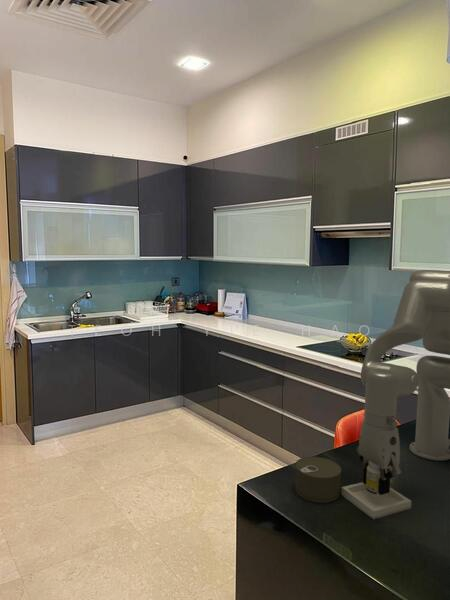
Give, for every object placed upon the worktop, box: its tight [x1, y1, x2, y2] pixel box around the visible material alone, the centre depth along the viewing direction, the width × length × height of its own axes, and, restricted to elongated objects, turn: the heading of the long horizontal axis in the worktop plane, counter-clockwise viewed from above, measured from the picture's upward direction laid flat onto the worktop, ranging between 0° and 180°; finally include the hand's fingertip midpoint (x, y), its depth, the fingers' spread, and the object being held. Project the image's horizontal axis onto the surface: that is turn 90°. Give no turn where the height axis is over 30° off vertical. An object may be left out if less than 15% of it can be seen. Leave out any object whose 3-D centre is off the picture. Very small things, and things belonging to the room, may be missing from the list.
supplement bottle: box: [366, 461, 387, 496], centre depth 113 cm, size 5×5×8 cm
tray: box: [340, 481, 412, 520], centre depth 114 cm, size 12×12×2 cm
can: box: [294, 456, 342, 504], centre depth 119 cm, size 12×12×7 cm
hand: (375, 487), depth 114 cm, fingers closed on supplement bottle, 4 cm apart
